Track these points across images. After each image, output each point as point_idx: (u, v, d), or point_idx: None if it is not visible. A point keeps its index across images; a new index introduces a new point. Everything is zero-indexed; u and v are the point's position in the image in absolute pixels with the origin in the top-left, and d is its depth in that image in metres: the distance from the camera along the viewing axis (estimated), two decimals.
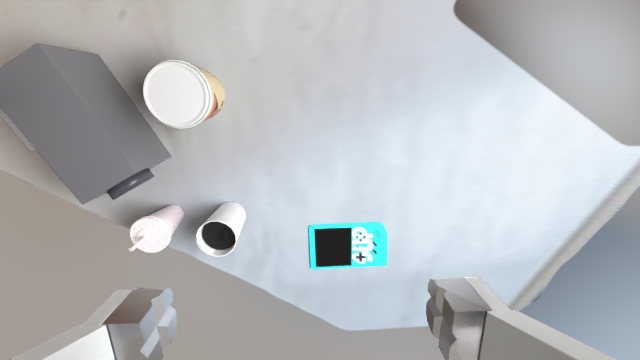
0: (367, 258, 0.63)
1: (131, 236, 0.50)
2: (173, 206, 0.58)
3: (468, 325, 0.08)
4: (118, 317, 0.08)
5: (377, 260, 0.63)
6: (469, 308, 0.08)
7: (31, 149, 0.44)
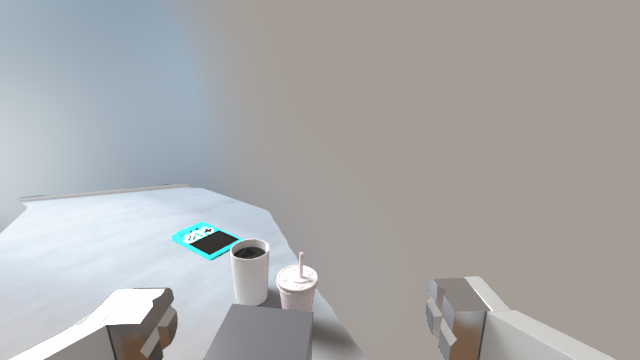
0: (205, 228, 0.78)
1: (312, 284, 0.45)
2: None
3: (468, 325, 0.08)
4: (118, 317, 0.08)
5: (202, 225, 0.79)
6: (469, 308, 0.08)
7: None
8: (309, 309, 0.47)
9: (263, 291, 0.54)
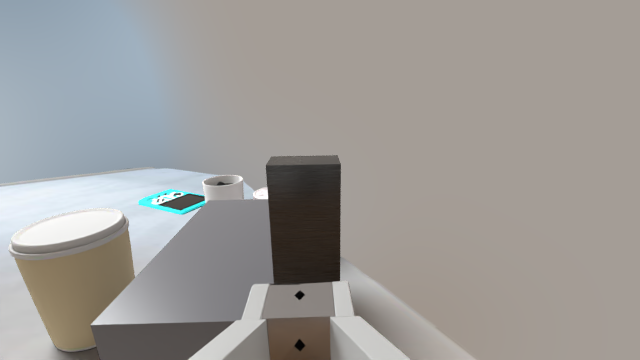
0: (174, 193, 0.75)
1: None
2: None
3: (314, 331, 0.08)
4: (272, 311, 0.08)
5: (170, 191, 0.76)
6: (316, 313, 0.08)
7: None
8: None
9: None
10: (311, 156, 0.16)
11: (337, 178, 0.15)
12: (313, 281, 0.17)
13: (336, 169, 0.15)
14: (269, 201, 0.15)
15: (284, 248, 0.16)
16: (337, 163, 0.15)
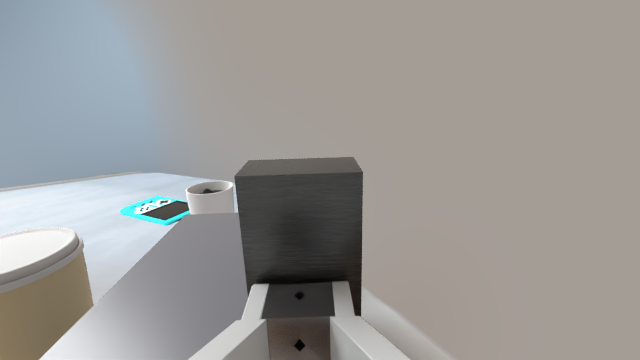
0: (161, 200, 0.68)
1: None
2: None
3: (314, 331, 0.08)
4: (272, 311, 0.08)
5: (157, 198, 0.69)
6: (316, 313, 0.08)
7: None
8: None
9: None
10: (312, 159, 0.10)
11: (357, 196, 0.09)
12: None
13: (354, 181, 0.09)
14: (243, 236, 0.09)
15: None
16: (356, 170, 0.09)
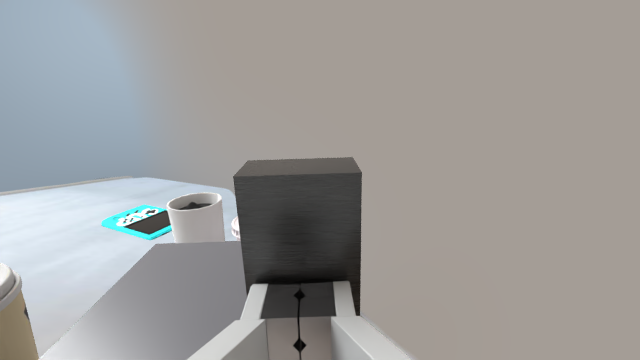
0: (148, 210, 0.62)
1: None
2: None
3: (315, 331, 0.08)
4: (271, 311, 0.08)
5: (144, 208, 0.64)
6: (317, 313, 0.08)
7: None
8: None
9: None
10: (311, 159, 0.10)
11: (356, 196, 0.09)
12: None
13: (353, 181, 0.09)
14: (241, 236, 0.09)
15: None
16: (355, 171, 0.09)
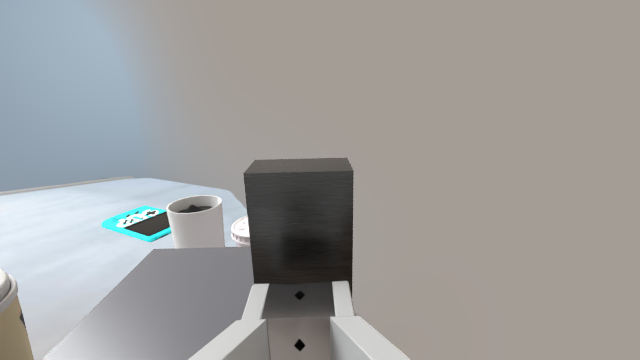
0: (148, 211, 0.62)
1: None
2: None
3: (314, 331, 0.08)
4: (272, 311, 0.08)
5: (144, 209, 0.64)
6: (316, 313, 0.08)
7: None
8: None
9: None
10: (310, 159, 0.12)
11: (348, 191, 0.10)
12: None
13: (346, 178, 0.10)
14: (250, 225, 0.10)
15: None
16: (348, 169, 0.10)
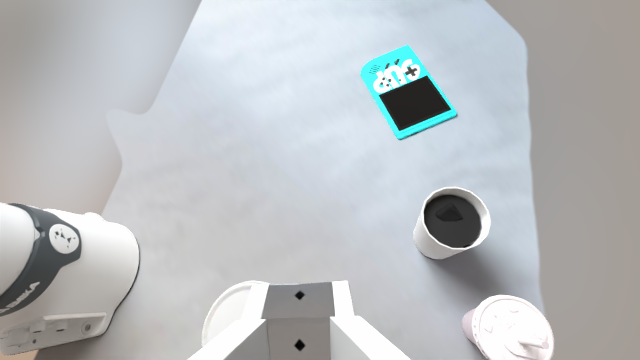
0: (409, 64, 0.51)
1: None
2: (463, 327, 0.35)
3: (314, 331, 0.08)
4: (272, 311, 0.08)
5: (406, 55, 0.52)
6: (316, 313, 0.08)
7: None
8: None
9: None
10: None
11: None
12: None
13: None
14: None
15: None
16: None
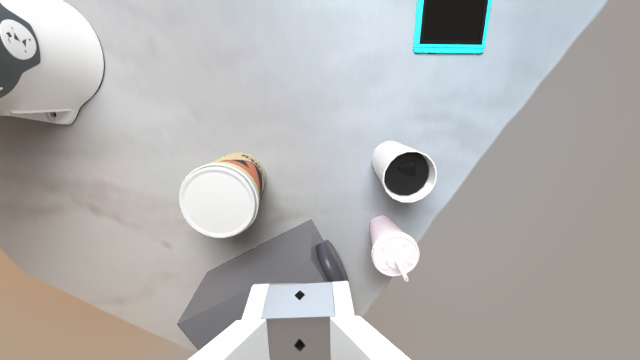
0: None
1: (394, 275, 0.41)
2: (370, 224, 0.48)
3: (314, 330, 0.08)
4: (273, 311, 0.08)
5: None
6: (316, 313, 0.08)
7: None
8: None
9: None
10: None
11: None
12: None
13: None
14: None
15: None
16: None
